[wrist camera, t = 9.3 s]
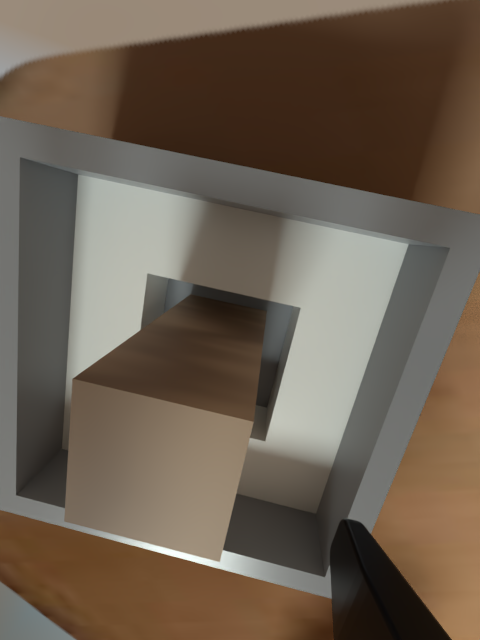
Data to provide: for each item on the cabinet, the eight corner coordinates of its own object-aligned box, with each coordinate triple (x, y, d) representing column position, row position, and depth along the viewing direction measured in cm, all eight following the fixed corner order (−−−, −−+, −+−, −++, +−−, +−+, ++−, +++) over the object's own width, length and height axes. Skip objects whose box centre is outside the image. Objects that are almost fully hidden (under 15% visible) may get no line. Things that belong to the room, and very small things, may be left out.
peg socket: (403, 225, 16) (501, 218, 9) (319, 475, 20) (342, 602, 13) (107, 163, 16) (-12, 113, 10) (86, 417, 20) (-7, 507, 14)
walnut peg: (266, 310, 16) (253, 421, 7) (250, 381, 17) (219, 562, 8) (190, 294, 17) (72, 378, 7) (179, 364, 18) (64, 521, 8)
